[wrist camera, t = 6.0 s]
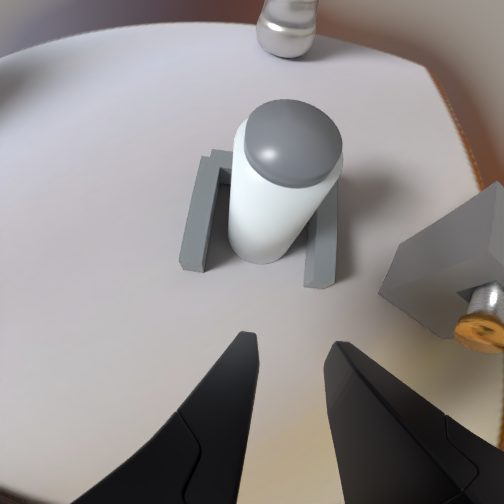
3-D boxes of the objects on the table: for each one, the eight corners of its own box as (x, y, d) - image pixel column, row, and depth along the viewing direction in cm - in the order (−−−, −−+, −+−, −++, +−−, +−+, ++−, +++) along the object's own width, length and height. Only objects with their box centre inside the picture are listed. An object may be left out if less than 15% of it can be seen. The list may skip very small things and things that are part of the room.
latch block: (442, 339, 22) (552, 323, 11) (378, 293, 23) (488, 250, 11) (459, 291, 23) (559, 256, 12) (399, 244, 24) (497, 180, 13)
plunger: (475, 354, 15) (515, 351, 11) (442, 329, 15) (484, 323, 11) (501, 247, 17) (534, 232, 14) (473, 219, 17) (507, 199, 14)
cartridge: (303, 246, 23) (372, 161, 12) (247, 276, 22) (275, 205, 11) (271, 194, 24) (308, 83, 13) (216, 220, 23) (214, 112, 12)
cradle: (322, 289, 22) (334, 283, 20) (183, 269, 22) (178, 260, 19) (327, 185, 25) (337, 170, 22) (204, 165, 24) (203, 148, 22)
